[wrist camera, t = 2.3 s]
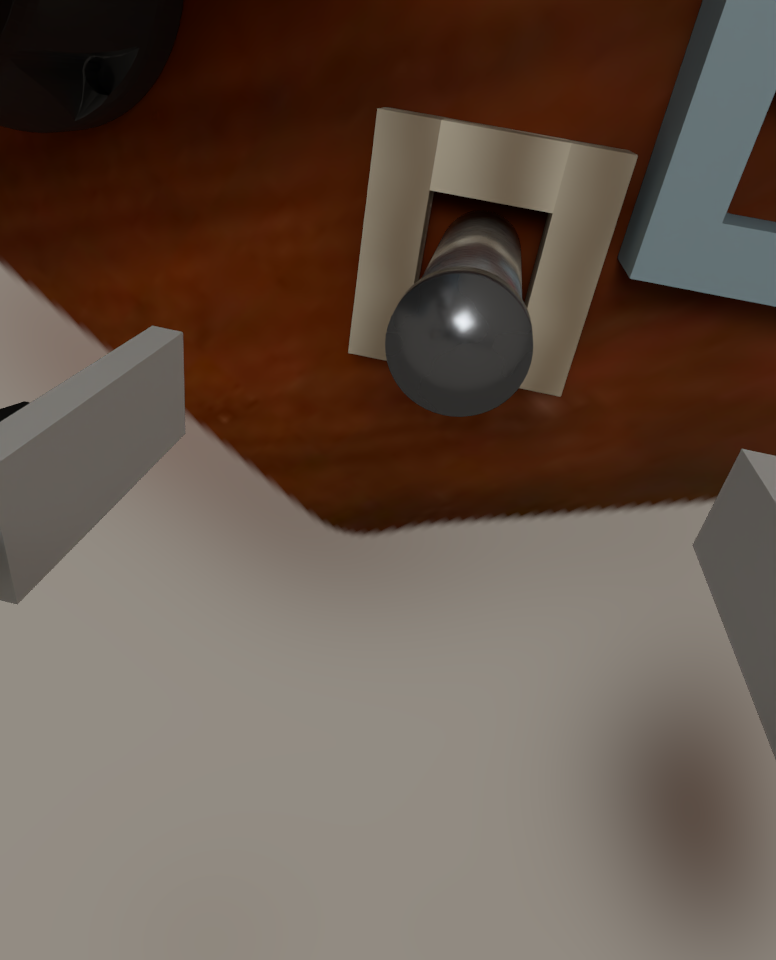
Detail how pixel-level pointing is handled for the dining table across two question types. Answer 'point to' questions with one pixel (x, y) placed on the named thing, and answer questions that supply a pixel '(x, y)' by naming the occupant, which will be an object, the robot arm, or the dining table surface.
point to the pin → (464, 321)
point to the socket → (710, 163)
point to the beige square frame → (501, 179)
